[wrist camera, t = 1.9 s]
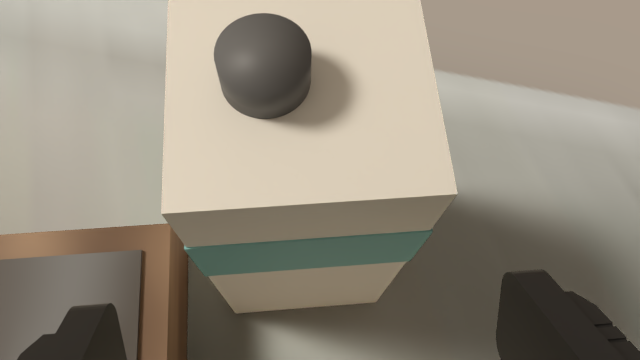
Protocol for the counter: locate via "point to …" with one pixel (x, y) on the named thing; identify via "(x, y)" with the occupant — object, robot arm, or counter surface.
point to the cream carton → (302, 146)
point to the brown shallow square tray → (96, 286)
